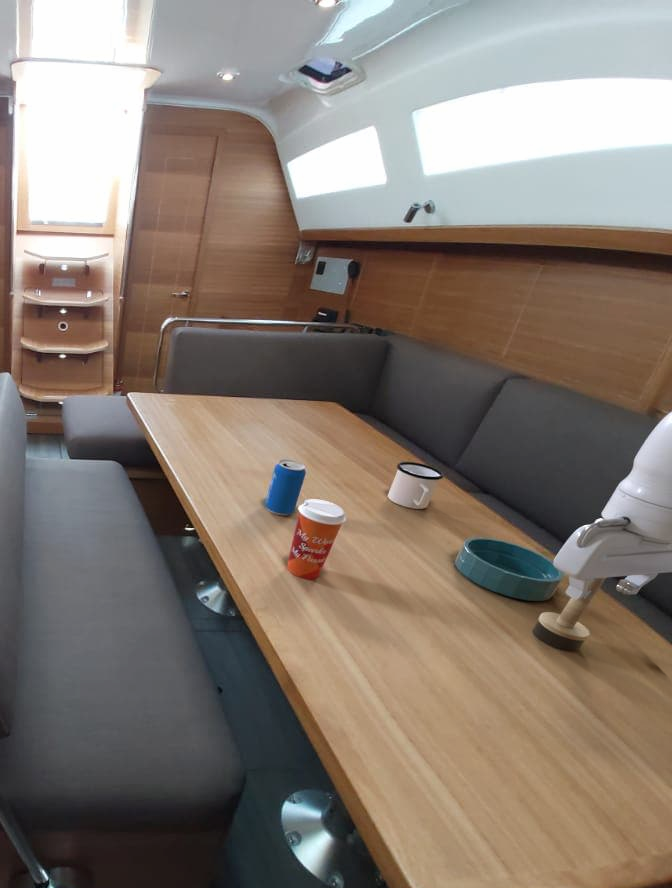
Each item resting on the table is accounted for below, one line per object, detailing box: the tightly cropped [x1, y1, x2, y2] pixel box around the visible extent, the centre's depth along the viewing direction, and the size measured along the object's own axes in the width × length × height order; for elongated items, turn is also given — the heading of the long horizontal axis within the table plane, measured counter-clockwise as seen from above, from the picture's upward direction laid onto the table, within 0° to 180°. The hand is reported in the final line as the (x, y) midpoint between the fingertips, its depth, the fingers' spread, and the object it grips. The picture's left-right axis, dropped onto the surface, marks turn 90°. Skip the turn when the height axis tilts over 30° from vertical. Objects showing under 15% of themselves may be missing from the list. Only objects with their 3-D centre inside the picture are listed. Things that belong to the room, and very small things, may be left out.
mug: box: [387, 461, 445, 510], centre depth 122 cm, size 12×10×9 cm
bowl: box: [454, 536, 565, 602], centre depth 95 cm, size 14×14×5 cm
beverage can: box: [264, 459, 307, 516], centre depth 116 cm, size 6×6×12 cm
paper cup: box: [286, 498, 347, 580], centre depth 93 cm, size 8×8×14 cm
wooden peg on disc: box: [532, 578, 607, 653], centre depth 79 cm, size 6×6×14 cm
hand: (599, 594), depth 76 cm, fingers open, 8 cm apart
